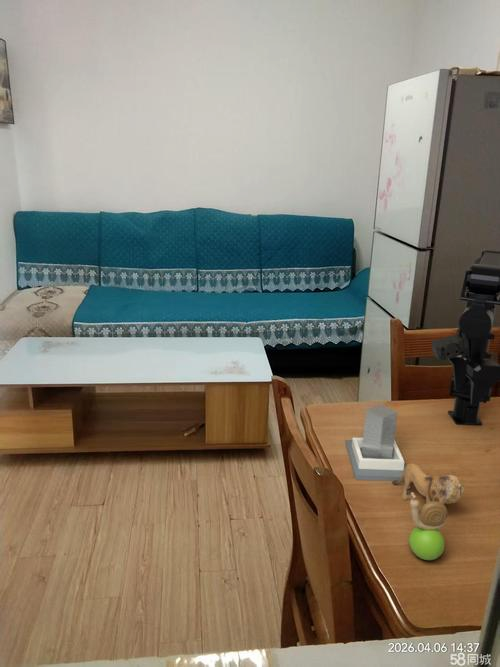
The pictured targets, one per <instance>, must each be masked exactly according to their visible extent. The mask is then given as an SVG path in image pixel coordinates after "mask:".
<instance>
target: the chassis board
mask: <svg viewBox="0 0 500 667" xmlns="http://www.w3.org/2000/svg"><path fill="white" fill-rule="evenodd" d="M362 443H363V437H352V439H345V443H344V444H345V447H346V451H347V453H348V454H347V455H348V457H349V461H350V462H349V463H350V465H351V469H352V473H353V477H354V480H356V481H380V482H381V481H383V482H384V481H385V482H392V481H395V480H398V479H399V478H400V477H401V476H402V474H403V472H404V469H405V467H406V466H407V465H406V463H405V460H404V458H403V455H402V454H401V450H400V449H399V447H398V444H397V442H396V440H395V439H394V444H393V452H392V459H370V458H363V457H362V454H361V452H362ZM400 482H405V477H404V478H403V479H402V480H401V481H400Z"/></svg>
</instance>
